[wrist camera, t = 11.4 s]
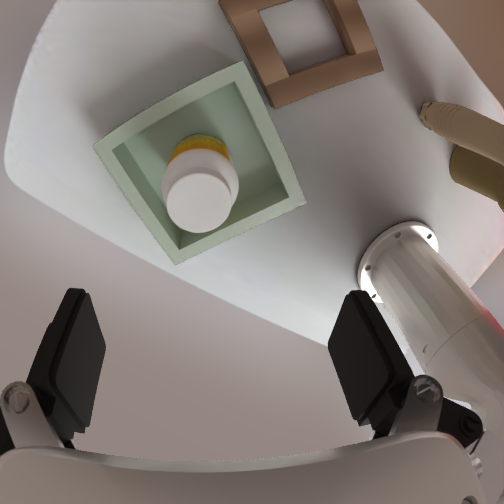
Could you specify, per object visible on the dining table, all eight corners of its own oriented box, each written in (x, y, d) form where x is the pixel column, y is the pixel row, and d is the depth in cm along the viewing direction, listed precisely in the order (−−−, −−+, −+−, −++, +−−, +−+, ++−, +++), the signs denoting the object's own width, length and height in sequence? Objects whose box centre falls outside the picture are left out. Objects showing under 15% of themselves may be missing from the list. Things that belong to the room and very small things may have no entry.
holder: (373, 69, 24) (384, 70, 22) (271, 106, 25) (275, 109, 23) (330, -30, 17) (339, -35, 16) (218, 2, 19) (219, -3, 17)
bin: (293, 184, 29) (307, 203, 26) (177, 239, 31) (175, 265, 27) (237, 62, 22) (243, 60, 19) (108, 133, 24) (92, 145, 20)
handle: (400, 112, 26) (511, 161, 14) (436, 81, 24) (547, 116, 12) (419, 146, 29) (519, 207, 16) (452, 115, 27) (554, 162, 14)
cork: (472, 185, 32) (528, 226, 23) (444, 181, 32) (504, 225, 23) (483, 144, 29) (544, 179, 20) (455, 136, 28) (522, 171, 19)
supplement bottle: (241, 170, 27) (259, 219, 19) (190, 197, 28) (186, 256, 20) (212, 119, 24) (216, 145, 16) (159, 150, 25) (137, 192, 17)
